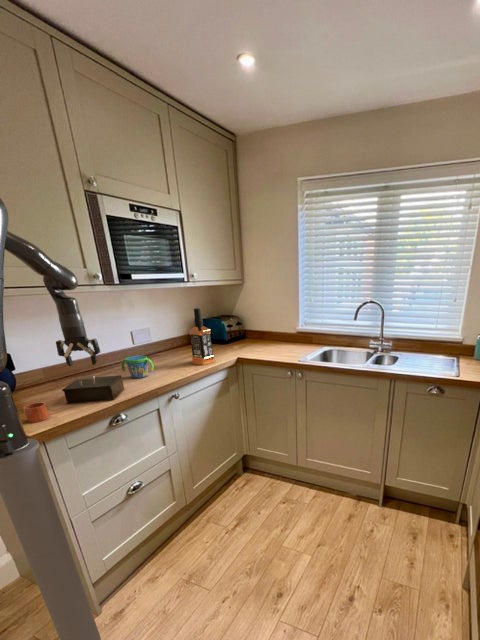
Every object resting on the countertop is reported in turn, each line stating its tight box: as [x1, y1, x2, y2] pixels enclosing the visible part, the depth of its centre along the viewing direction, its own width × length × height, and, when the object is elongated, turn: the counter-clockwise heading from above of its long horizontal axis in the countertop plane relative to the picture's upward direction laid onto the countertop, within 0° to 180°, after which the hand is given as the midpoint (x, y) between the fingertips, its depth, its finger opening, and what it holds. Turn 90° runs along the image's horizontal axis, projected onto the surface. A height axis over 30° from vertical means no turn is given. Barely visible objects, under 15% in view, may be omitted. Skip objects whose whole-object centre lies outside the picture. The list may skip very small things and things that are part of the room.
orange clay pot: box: [22, 401, 50, 423], centre depth 121 cm, size 6×6×6 cm
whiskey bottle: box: [188, 307, 216, 366], centre depth 196 cm, size 10×10×32 cm
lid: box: [62, 374, 123, 392], centre depth 143 cm, size 16×18×5 cm
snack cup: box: [121, 355, 155, 379], centre depth 172 cm, size 16×10×10 cm
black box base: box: [63, 377, 125, 405], centre depth 145 cm, size 16×18×6 cm
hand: (83, 365), depth 135 cm, fingers open, 8 cm apart
